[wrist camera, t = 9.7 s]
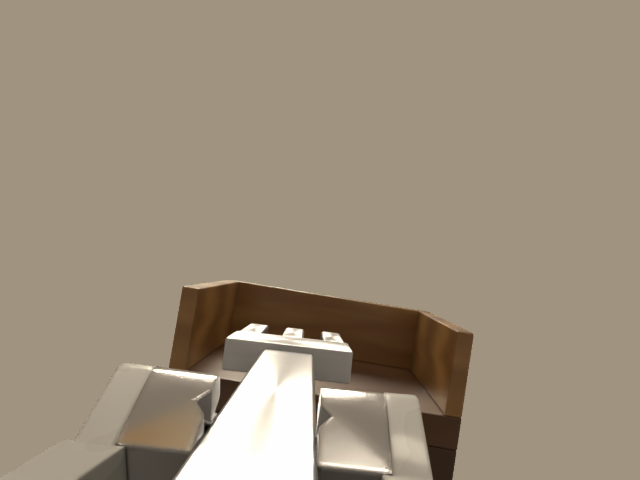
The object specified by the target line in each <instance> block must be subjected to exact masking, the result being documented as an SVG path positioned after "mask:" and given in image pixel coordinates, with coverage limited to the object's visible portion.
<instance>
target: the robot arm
mask: <svg viewBox="0 0 640 480" xmlns="http://www.w3.org/2000/svg"><path fill="white" fill-rule="evenodd" d="M219 397H220V377H219V375H216V374H209V373H201V372H194V371H187V370H179V369H172V368H164V367H153V366H146V365H138V364H131V363H123V364H122V365H121V366H119V367H118V368H117V369H116V371H115V373H114V374H113V376H112V378H111V379H110V381H109V383H108V384H107V386H106V388H105V389H104V391H103V393H102V394H101V396H100V398H99V399H98V401H97V403H96V405H95V406H94V408H93V409H92V411H91V413H90V415H89V416H88V418H87V420H86V421H85V423H84V425H83V426H82V428H81V430H80V431H79V433H78V435H77V436H76V438H75V440H74V441H72V440H62V441H61V442H59V443H57V444H56V445H54V446H52V447H51V448H49V449H47V450H46V451H44V452H42V453H41V454H39V455H37V456H36V457H34V458H32V459H31V460H29V461H27V462H26V463H24V464H23V465H21V466H19V467H17V468H16V469H14V470H12V471H11V472H9V473H7V474H6V475H4V476H2V477H1V478H0V480H172V479H173V478H174V476H175V475H176V474H177V472H178V471H179V469H180V468H181V466H182V465H183V464H184V462H185V461H186V459H187V458H188V456H189V455H190V454H191V452H192V451H193V449H194V448H195V447H196V445H197V444H198V442H199V441H200V440H201V438H202V437H203V435H204V434H205V432H206V431H207V429H208V428H209V427H210V425H211V424H212V422H213V421H214V419H215V418H216V417H217V415H218V414H217V413H216V412H215V410H216V407H217V404H218V400H219ZM316 440H317V446H316V457H317V469H318V480H433V476H432V471H431V465H430V459H429V454H428V448H427V443H426V437H425V431H424V426H423V420H422V415H421V409H420V404H419V399H418V398H417V397H416V395H408V394H397V393H386V392H384V394H383V393H379V392H370V391H360V390H351V389H341V388H332V387H322V386H321V390H320V396H319V403H318V413H317V426H316Z"/></svg>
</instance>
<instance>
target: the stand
mask: <svg viewBox="0 0 640 480" xmlns="http://www.w3.org/2000/svg"><path fill="white" fill-rule="evenodd" d="M252 323H253V324H261V325H268V326H269V330H268V334H273V335H281V336H282V335H283V333H284V331H285V329H286V328H296V329H303V330H304V338H308V339H316V340H320V337H321V332H331V333H338V334H340V336H341V338H342V340H343V342H344V343H348V345H349V347H350V349H351V350H352V352H353V358H352V367H351V377H350V383H349V384H344V383H335V382H326V381H317V380H315V401H316V426H317V413H318V403H319V396H320V390H321V386H322V387H332V388H341V389H351V390H360V391H370V392H379V393H383V394H384V392H386V393H397V394H408V395H416V397H417V398H418V399H419V404H420V409H421V415H422V420H423V426H424V431H425V437H426V443H427V448H428V454H429V459H430V465H431V471H432V476H433V480H452V478H453V471H454V463H455V457H456V450H457V444H458V437H459V431H460V424H461V416H462V410H463V403H464V396H465V389H466V383H467V376H468V369H469V362H470V356H471V349H472V342H473V334H472V333H471V332H468V331H466V330H464V329H462V328H460V327H458V326H456V325H454V324H452V323H450V322H448V321H446V320H444V319H442V318H439V317H437V316H435V315H433V314H431V313H430V312H426V311H420V310H414V309H408V308H401V307H396V306H390V305H383V304H377V303H371V302H365V301H359V300H352V299H346V298H340V297H334V296H328V295H322V294H316V293H310V292H303V291H296V290H291V289H285V288H279V287H273V286H267V285H260V284H254V283H248V282H242V281H236V280H224V281H217V282H210V283H203V284H196V285H189V286H183V289H182V294H181V300H180V306H179V312H178V318H177V324H176V329H175V335H174V341H173V347H172V353H171V359H170V364H169V368H172V369H179V370H187V371H194V372H201V373H209V374H216V375H219V377H220V397H219V400H218V404H217V407H216V410H215V412H216V413H217V414H219V412H220V411H221V409H222V408H223V407H224V405H225V404H226V402H227V401H228V399H229V398H230V397H231V395H232V394H233V392H234V391H235V389H236V388H237V387H238V385H239V384H240V382H241V381H242V380H243V378H244V377H245V375H246V374H247V372H238V371H229V370H223V369H222V363H223V355H224V347H225V339H226V338H227V337H228V336H230V335H231V334H233V333H234V332H236V331H241V330H242V329H244V328H245V327H247V326H248V325H250V324H252Z"/></svg>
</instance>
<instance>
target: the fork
mask: <svg viewBox="0 0 640 480" xmlns="http://www.w3.org/2000/svg"><path fill="white" fill-rule="evenodd" d="M268 330H269V326H268V325H261V324H253V323H252V324H250V325H248V326H247V327H245V328H244V329H242V330H241V331H236V332H234V333H233V334H231V335H230V336H228V337H227V338H226V339H225V347H224V355H223V363H222V369H223V370H229V371H238V372H247V374H246V375H245V377H244V378H243V380H242V381H241V382H240V384H239V385H238V387H237V388H236V389H235V391H234V392H233V394H232V395H231V397H230V398H229V399H228V401H227V402H226V404H225V405H224V407H223V408H222V409H221V411H220V412H219V414H218V415H217V417H216V418H215V419H214V421H213V422H212V424H211V425H210V427H209V428H208V429H207V431H206V432H205V434H204V435H203V437H202V438H201V440H200V441H199V442H198V444H197V445H196V447H195V448H194V449H193V451H192V452H191V454H190V455H189V456H188V458H187V459H186V461H185V462H184V464H183V465H182V466H181V468H180V469H179V471H178V472H177V474H176V475H175V476H174V478H173V479H172V480H318V469H317V457H316V446H317V440H316V401H315V380H317V381H326V382H335V383H344V384H349V383H350V377H351V367H352V358H353V352H352V350H351V349H350V347H349V345H348V343H344V342H343V340H342V338H341V336H340V334H338V333H331V332H321V337H320V340H316V339H308V338H304V330H303V329H296V328H286V329H285V331H284V333H283V335H282V336H281V335H273V334H268Z"/></svg>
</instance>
